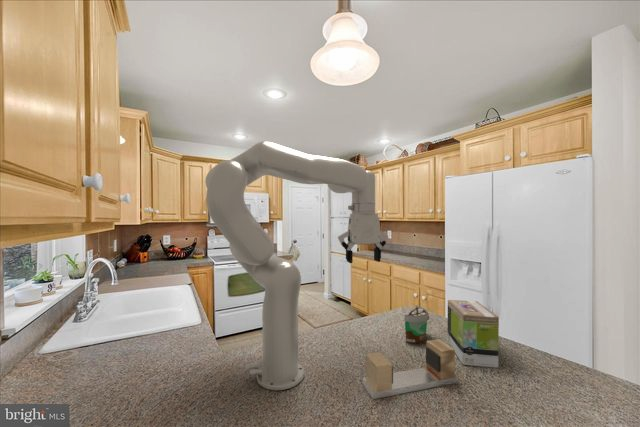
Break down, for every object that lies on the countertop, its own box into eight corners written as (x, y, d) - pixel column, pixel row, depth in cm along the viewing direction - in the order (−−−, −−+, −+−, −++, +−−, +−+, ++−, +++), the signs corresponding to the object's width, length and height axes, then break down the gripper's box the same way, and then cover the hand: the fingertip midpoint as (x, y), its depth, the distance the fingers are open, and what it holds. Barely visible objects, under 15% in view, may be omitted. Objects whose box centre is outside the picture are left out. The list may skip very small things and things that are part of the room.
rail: (373, 399, 64) (372, 367, 64) (362, 383, 70) (362, 354, 70) (457, 382, 71) (457, 353, 71) (441, 369, 76) (441, 343, 76)
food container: (423, 350, 87) (423, 319, 87) (404, 344, 91) (404, 314, 91) (433, 336, 97) (433, 308, 97) (416, 331, 101) (416, 305, 101)
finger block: (439, 379, 69) (439, 351, 69) (424, 366, 75) (424, 341, 75) (454, 376, 70) (454, 349, 70) (438, 364, 76) (438, 339, 76)
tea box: (500, 368, 77) (500, 316, 77) (462, 365, 79) (462, 314, 79) (478, 343, 92) (477, 299, 92) (446, 341, 93) (446, 298, 93)
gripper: (342, 208, 83) (342, 265, 83) (393, 209, 87) (393, 262, 87) (334, 209, 90) (334, 261, 90) (382, 209, 94) (382, 258, 94)
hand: (363, 261), depth 89 cm, fingers open, 9 cm apart
